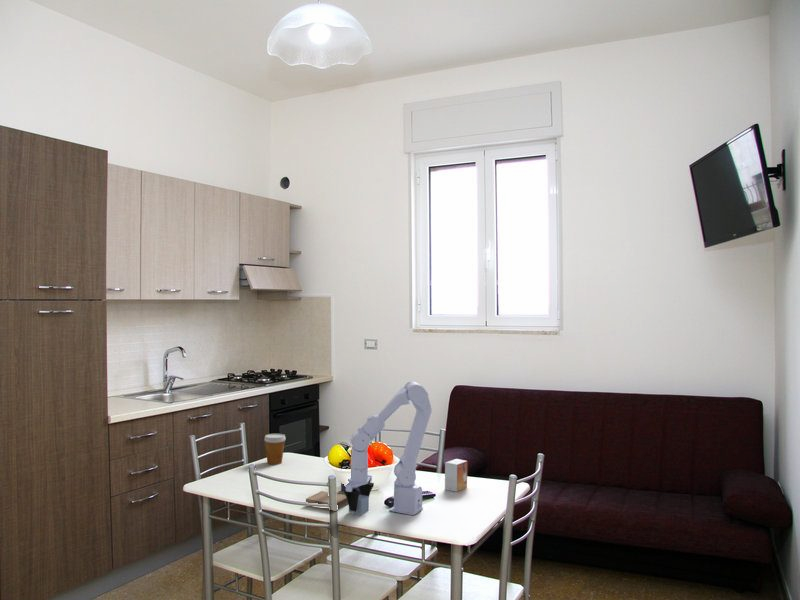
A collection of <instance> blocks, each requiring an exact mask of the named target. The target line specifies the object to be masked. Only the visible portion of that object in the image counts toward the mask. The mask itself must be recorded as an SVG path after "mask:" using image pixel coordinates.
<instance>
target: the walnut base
mask: <svg viewBox="0 0 800 600" xmlns="http://www.w3.org/2000/svg"><path fill="white" fill-rule="evenodd" d="M336 494H337V505H338V510H340V509H342V508H344V507H346V506H349V503H348V500H347V497H346V495H345V494H341V493H336ZM306 502H308V503H318V504H328V503H329V496H328V491H325V490H324V491H323V490H321V491H319V492H317V493H315V494H313V495H311V496H309V497H306V498H305V503H306ZM318 509H320V510H325V511H330V510H329V508H318ZM338 510H337V511H338Z"/></svg>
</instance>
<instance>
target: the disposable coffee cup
mask: <svg viewBox="0 0 800 600" xmlns="http://www.w3.org/2000/svg"><path fill="white" fill-rule="evenodd" d="M286 439H287V438H286V434H284V433H283V434H282V433H268V434H265V436H264V439H263V440H264V442H265V445H264V446H265V452H266V454H265V455H266V463H267V464H268V465H275V466H277V465H280V464H282V463H283V456H284V448H285V443H286Z"/></svg>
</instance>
